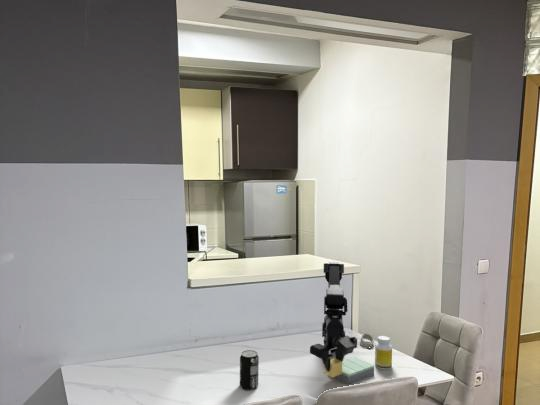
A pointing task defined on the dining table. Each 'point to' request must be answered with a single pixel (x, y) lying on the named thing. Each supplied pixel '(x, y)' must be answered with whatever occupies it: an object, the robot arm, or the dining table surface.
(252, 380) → the beverage can
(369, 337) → the wristwatch
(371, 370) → the tub
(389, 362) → the pill bottle
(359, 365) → the grooved mint slab
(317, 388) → the dining table surface
